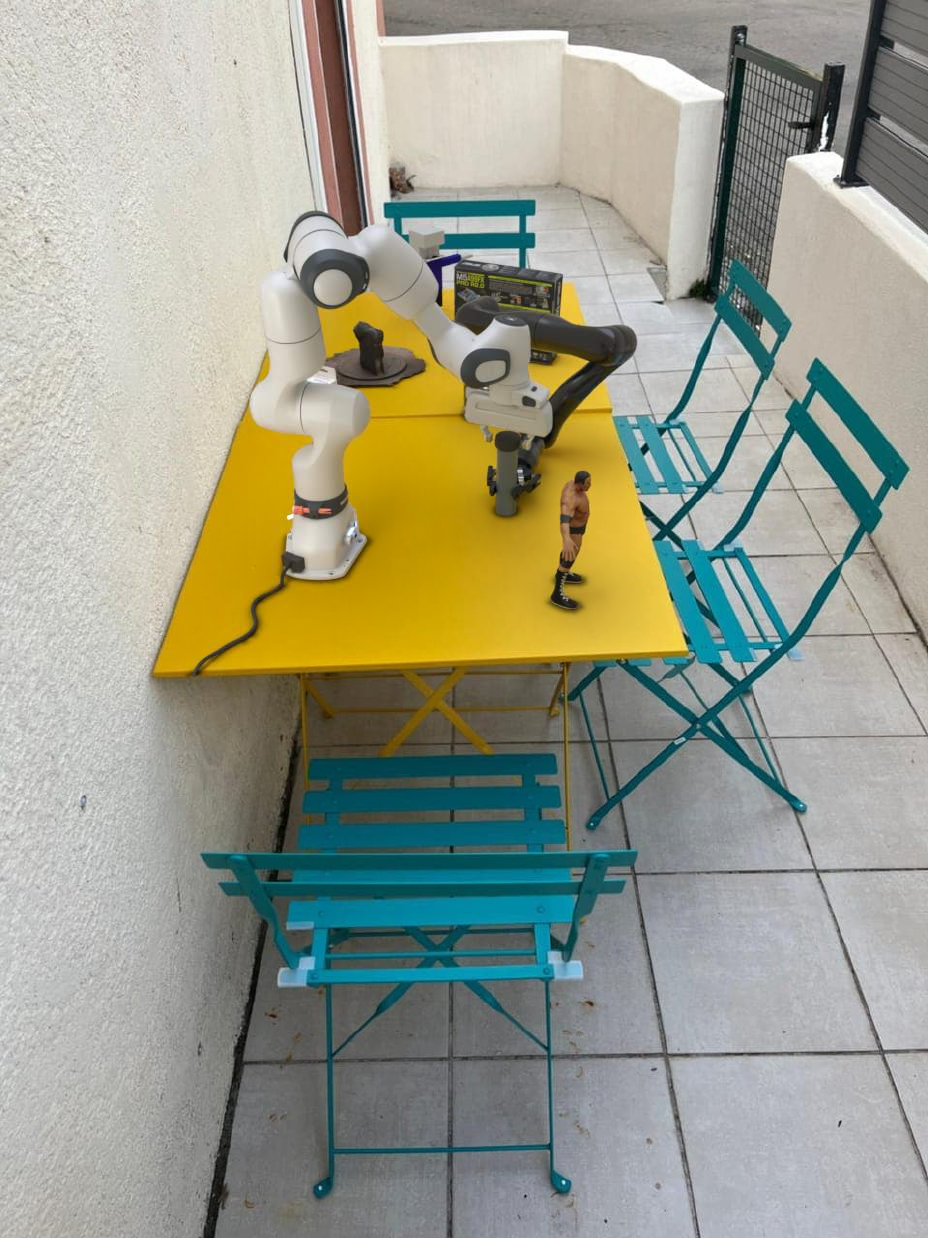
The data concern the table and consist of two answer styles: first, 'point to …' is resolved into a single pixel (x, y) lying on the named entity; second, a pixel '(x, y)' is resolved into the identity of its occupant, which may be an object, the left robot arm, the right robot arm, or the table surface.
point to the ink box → (324, 376)
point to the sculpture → (373, 360)
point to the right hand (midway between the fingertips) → (503, 494)
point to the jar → (506, 482)
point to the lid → (507, 441)
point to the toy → (433, 252)
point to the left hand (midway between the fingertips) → (507, 444)
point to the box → (510, 291)
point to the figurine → (571, 534)
